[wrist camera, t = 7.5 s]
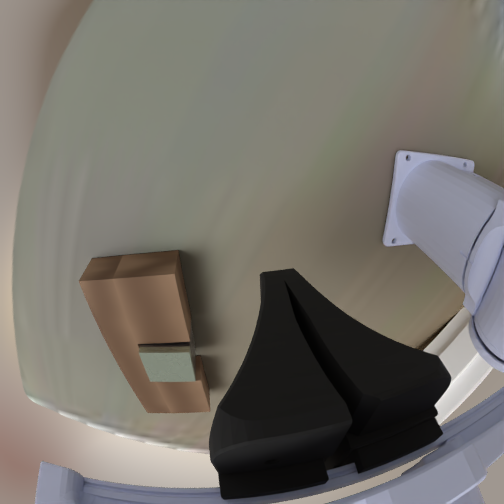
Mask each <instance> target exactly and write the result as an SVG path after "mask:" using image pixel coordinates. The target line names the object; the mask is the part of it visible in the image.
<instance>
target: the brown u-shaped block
mask: <svg viewBox="0 0 504 504" xmlns="http://www.w3.org/2000/svg"><path fill="white" fill-rule="evenodd" d="M79 283H80V286H81V288H82V290H83V293H84V295H85V298H86V300H87V302H88V305H89V307H90V309H91V311H92V314H93V316H94V318H95V320H96V322H97V324H98V326H99V329H100V331H101V333H102V335H103V337H104V339H105V341H106V343H107V345H108V347H109V349H110V350H111V352H112V354H113V356H114V358H115V360H116V362H117V363H118V365H119V367H120V369H121V371H122V372H123V374H124V376H125V377H126V379H127V381H128V383H129V384H130V386H131V388H132V389H133V391H134V392H135V394H136V396H137V397H138V399H139V400H140V402H141V403H142V405H143V407H144V408H145V410H146V411H147V413H191V412H210V396H209V387H208V383H207V379H206V376H205V372H204V368H203V364H202V360H201V356H200V355H199V356H196V381H194V382H150V380H149V377H148V375H147V373H146V370H145V368H144V365H143V363H142V360H141V358H140V355H139V348H140V344H151V343H173V342H190V332H191V312H190V308H189V303H188V298H187V293H186V288H185V283H184V278H183V272H182V267H181V262H180V256H179V250H175V251H164V252H153V253H143V254H132V255H122V256H111V257H101V258H92V259H91V261H90V263H89V264H88V266H87V268H86V270H85V271H84V273H83V275H82V277H81V278H80V280H79Z"/></svg>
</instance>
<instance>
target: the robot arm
mask: <svg viewBox="0 0 504 504" xmlns="http://www.w3.org/2000/svg"><path fill="white" fill-rule="evenodd" d="M407 155H408V159H407V160H406V156H407ZM463 164H464V165H463ZM473 171H474V162H473V161H472V160H469V159H464V158H458V157H452V156H445V155H438V154H431V153H423V152H415V151H406V150H399V151H398V152H397V153H396V157H395V166H394V174H393V182H392V189H391V195H390V202H389V208H388V214H387V220H386V225H385V230H384V235H383V244H384V245H385V246H398V245H408V244H416V245H417V246H418V247H419V248H420V249H421V250H422V251H423V252H424V253H425V254H426V255H427V256H428V257H429V258H431V259H432V260H433V261H434V262H435V263H436V264H437V265H438V266H439V267H440V268H441V269H442V270H443V271H444V272H445V273H446V274H447V275H448V276H449V277H450V278H451V279H452V280H453V281H454V282H455V283H456V284H457V285H458V286H459V287H460V288H461V290H462V291H463V292H464V293H465V299H464V302H463V305H464V307H465V308H466V309H467V310H468V311H469V312H470V313H471V317H470V320H469V326H468V328H469V334H470V338H471V341H472V343H473V345H474V347H475V349H476V350H477V352H478V353H479V355H480V356H481V357H482V358H483V359H484V361H485V362H487V363H488V364H489V365H490V366H492V367H493V368H495V369H497V370H499V371H501V372H504V188H502V187H501V186H499V185H497V184H495V183H493V182H491V181H490V180H488V179H486V178H484V177H482V176H480V175H478V174H476V173H474V172H473ZM393 239H394V240H393ZM392 240H393V241H392ZM260 289H261V306H260V311H259V316H258V320H257V325H256V328H255V332H254V335H253V338H252V341H251V344H250V346H249V349H248V351H247V354H246V356H245V359H244V361H243V363H242V365H241V367H240V369H239V371H238V373H237V375H236V377H235V379H234V381H233V383H232V384H231V386H230V388H229V389H228V391H227V393H226V394H225V396H224V397H223V399H222V400H221V402H220V403H219V405H218V407H217V411H216V414H215V417H214V420H213V424H212V427H211V432H210V437H209V450H210V459H211V463H212V464H213V466H214V467H215V469H216V470H217V472H218V474H219V485H220V487H217V488H163V487H148V486H137V485H128V484H121V483H114V482H107V481H101V480H96V479H90V478H86V477H83V476H82V475H81V474H79V473H78V472H76V471H74V470H71V469H69V468H66V467H61V466H58V465H54V464H51V463H47V462H44V461H42V462H41V464H40V470H39V476H38V483H37V491H36V499H35V504H270V503H276V502H282V501H288V500H293V499H299V498H303V497H308V496H312V495H316V494H320V493H324V492H328V491H332V490H335V489H339V488H342V487H346V486H349V485H352V484H355V483H358V482H361V481H364V480H367V479H369V478H372V477H375V476H378V475H380V474H383V473H385V472H388V471H390V470H393V469H395V468H397V467H400V466H402V465H404V464H406V463H408V462H411V461H413V460H415V459H417V458H419V457H421V456H423V455H425V454H427V453H429V452H431V451H433V450H435V449H437V448H438V447H439V448H438V449H437V450H435V451H433V452H432V453H430V454H428V455H426V456H425V457H423V458H422V459H421V460H420V462H418V463H417V464H416V465H414V466H413V467H411V468H410V469H408V470H407V471H405V472H404V473H402V475H401V476H400V477H398V478H395V479H393V480H391V481H388V482H386V483H383V484H381V485H378V486H376V487H373V488H371V489H368V490H365V491H362V492H360V493H357V494H354V495H351V496H348V497H345V498H342V499H339V500H336V501H332V502H329V503H326V504H485V502H484V500H483V497H482V495H481V493H480V490H479V487H478V484H479V483H481V482H482V481H483V480H484V479H485V477H486V475H487V470H486V469H487V468H488V467H489V466H490V465H492V464H493V463H494V462H495V461H496V460H497V459H498V458H499V457H500V456H502V454H504V387H502V388H501V389H500V390H498V391H497V392H496V393H494V394H493V395H491V396H490V397H488V398H487V399H485V400H484V401H482V402H481V403H480V404H478V405H476V406H475V407H473V408H472V409H470V410H468V411H467V412H465V413H463V414H462V415H460V416H458V417H457V418H455V419H453V420H451V421H450V422H448V423H446V424H444V425H442V426H439V424H438V422H437V420H436V418H435V417H436V416H437V415H438V411H437V409H436V407H435V406H434V405H435V404H436V403H437V402H438V401H439V399H440V398H441V397H442V396H443V394H444V393H445V392H446V390H447V389H448V387H449V386H450V382H451V379H452V378H451V375H450V373H449V372H448V370H447V369H446V367H445V365H444V364H443V362H442V361H441V359H440V358H439V357H438V356H437V355H434V354H431V353H427V352H424V351H421V350H418V349H414V348H412V347H409V346H406V345H404V344H401V343H399V342H396V341H394V340H392V339H390V338H387V337H385V336H383V335H381V334H379V333H377V332H376V331H374V330H372V329H370V328H368V327H366V326H365V325H363V324H361V323H360V322H358V321H357V320H355V319H353V318H352V317H350V316H349V315H347V314H346V313H344V312H343V311H342V310H340V309H339V308H338V307H336V306H335V305H334V304H333V303H331V302H330V301H329V300H328V299H327V298H325V297H324V296H323V295H322V294H321V293H320V292H318V291H317V290H316V289H315V288H314V287H313V286H312V285H311V284H310V283H309V282H308V281H306V280H305V279H304V278H303V277H302V276H301V275H300V274H299V273H298V272H297V271H296V270H295V269H294V268H293V269H285V270H277V271H268V272H262V273H261V274H260Z"/></svg>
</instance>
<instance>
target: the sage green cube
mask: <svg viewBox="0 0 504 504" xmlns="http://www.w3.org/2000/svg"><path fill="white" fill-rule="evenodd" d="M139 355H140V358H141V360H142V363H143V365H144V368H145V370H146V373H147V375H148V377H149V380H150V382H194V381H196V347H195V342H194V336H193V329H192V323H191V332H190V342H173V343H151V344H140V348H139Z"/></svg>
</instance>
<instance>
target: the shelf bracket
mask: <svg viewBox="0 0 504 504" xmlns="http://www.w3.org/2000/svg"><path fill="white" fill-rule="evenodd" d="M470 317H471V313H470V312H469V311H468V310H467V309H466V308H465V307H464V308H462V309H461V310H460V311H459V312H458V313H457V314H456V316H455V317H454V318H453V319H452V320H451V321H450V322H449V323H448V325H447V326H446V327H445V328H444V329H443V330H442V331H441V332H440V333H439V334H438V336H437V337H436V338H435V339H434V340H433V341H432V342H431V343H430V344H429V345H428V346H427V347H426V348H425V349H424V350H423V351H424V352H427V353H431V354H434V355H437V356H438V357H439V358H440V359H441V361H442V362H443V364H444V365H445V367H446V369H447V370H448V372H449V373H450V375H451V378H452V379H451V382H450V386H449V387H448V389H447V390H446V392H445V393H444V394H443V396H442V397H441V398H440V399H439V401H438V402H437V403H436V404H435V405H434V406H435V407H436V409H437V411H438V415H437V416H436V417H435V418H436V420H437V422H438V424H439V425H440V424H441V423H442V422H443V421H444V420H445V419H446V418H447V417H448V416H449V415H450V414H451V413H453V412H454V411H455V409H457V408H458V407H459V406H460V405H461V404H462V403H463V401H464V400H466V398H467V397H468V396H469V395H470V394H471V393H472V392H473V391H474V390H475V389H476V388H477V387H478V385H479V384H480V383H481V382H482V381H483V380H484V379H485V378H486V376H487V375H488V374H489V373H490V372H491V370H492V369H493V367H492V366H490V365H489V364H488V363H487V362H485V361H484V359H483V358H482V357H481V356H480V355H479V353H478V352H477V350H476V349H475V347H474V345H473V343H472V341H471V338H470V334H469V328H468V326H469V320H470Z"/></svg>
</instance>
